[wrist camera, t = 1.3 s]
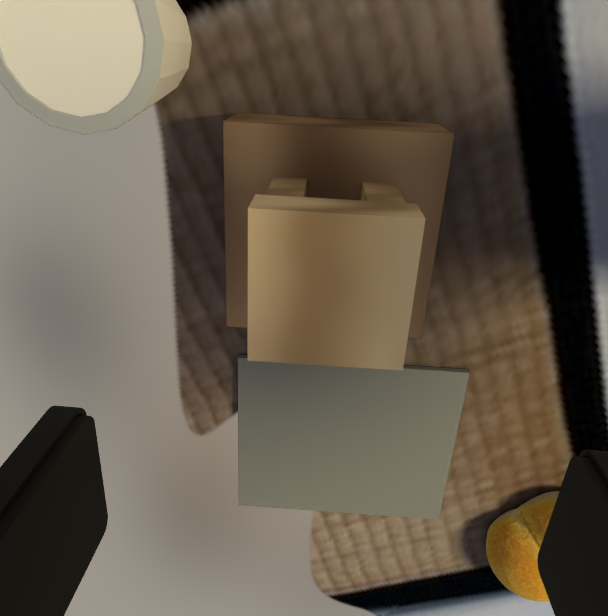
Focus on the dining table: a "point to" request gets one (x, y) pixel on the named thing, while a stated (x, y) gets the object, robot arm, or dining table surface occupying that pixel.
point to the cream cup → (91, 58)
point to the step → (331, 180)
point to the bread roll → (521, 546)
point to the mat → (347, 437)
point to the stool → (331, 276)
